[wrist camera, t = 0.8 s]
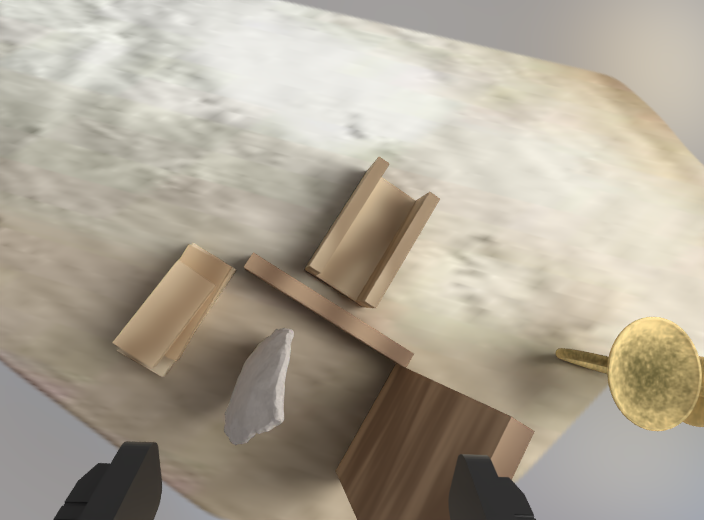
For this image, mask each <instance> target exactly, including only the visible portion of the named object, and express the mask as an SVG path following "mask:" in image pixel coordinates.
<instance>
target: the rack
mask: <svg viewBox="0 0 704 520" xmlns="http://www.w3.org/2000/svg"><path fill="white" fill-rule="evenodd" d="M244 268H245V270H247V271H249V272H250V273H252V274H253V275H255V276H257V277H258V278H260V279H261V280H263V281H265V282H266V283H268V284H269V285H271V286H273V287H274V288H276V289H277V290H279V291H281V292H282V293H284V294H285V295H287V296H289V297H290V298H292V299H293V300H295V301H297V302H298V303H300V304H301V305H303V306H305V307H306V308H308V309H310V310H311V311H313V312H314V313H316V314H318V315H319V316H321V317H322V318H324V319H326V320H327V321H329V322H330V323H332V324H334V325H335V326H337V327H338V328H340V329H342V330H343V331H345V332H346V333H348V334H350V335H351V336H353V337H354V338H356V339H358V340H359V341H361V342H362V343H364V344H366V345H367V346H369V347H370V348H372V349H374V350H375V351H377V352H378V353H380V354H382V355H383V356H385V357H387V358H388V359H390V360H391V361H393V362H395V363H396V364H395V366H394V368H393V370H392V371H391V373H390V375H389V377H388V379H387V380H386V382H385V384H384V386H383V387H382V389H381V391H380V393H379V395H378V396H377V398H376V400H375V402H374V404H373V405H372V407H371V409H370V411H369V412H368V414H367V416H366V418H365V420H364V421H363V423H362V425H361V427H360V428H359V430H358V432H357V434H356V436H355V437H354V439H353V441H352V443H351V445H350V446H349V448H348V450H347V452H346V453H345V455H344V457H343V459H342V461H341V462H340V464H339V466H338V468H337V469H336V473H337V475H338V477H339V480H340V482H341V484H342V486H343V489H344V491H345V493H346V495H347V498H348V500H349V502H350V504H351V507H352V509H353V511H354V513H355V516H356V518H357V520H450V515H449V506H448V498H449V491H450V487H451V483H452V479H453V475H454V471H455V466H456V462H457V458H458V456H459V455H460V454H470V455H487V456H489V457H490V459H491V461H492V463H493V465H494V468H495V470H496V472H497V475H498V477H509V478H510V479H511V480H512V478H513V476H514V474H515V472H516V469H517V467H518V465H519V463H520V461H521V459H522V457H523V455H524V453H525V451H526V448H527V446H528V444H529V442H530V440H531V438H532V436H533V434H534V432H535V431H533V430H532V429H530V428H529V427H527V426H525V425H524V424H522V423H521V422H519V421H517V420H516V419H514V418H513V417H511V416H509V415H507V414H504V413H502V412H500V411H498V410H496V409H494V408H491V407H489V406H487V405H485V404H483V403H481V402H478V401H476V400H474V399H472V398H470V397H468V396H465V395H463V394H461V393H459V392H457V391H455V390H452V389H450V388H448V387H446V386H444V385H442V384H439V383H437V382H435V381H433V380H431V379H429V378H427V377H424V376H422V375H420V374H418V373H416V372H414V371H411V370H409V369H407V368H406V367H407V365H408V364H409V362H410V360H411V358H412V356H413V355H414V354H413V353H412V352H410V351H409V350H407V349H405V348H404V347H402V346H401V345H399V344H398V343H396V342H394V341H393V340H391V339H390V338H388V337H386V336H385V335H383V334H382V333H380V332H379V331H377V330H375V329H374V328H372V327H371V326H369V325H367V324H366V323H364V322H363V321H361V320H360V319H358V318H356V317H355V316H353V315H352V314H350V313H348V312H347V311H345V310H344V309H342V308H341V307H339V306H337V305H336V304H334V303H333V302H331V301H329V300H328V299H326V298H325V297H323V296H321V295H320V294H318V293H317V292H315V291H314V290H312V289H310V288H309V287H307V286H306V285H304V284H302V283H301V282H299V281H298V280H296V279H295V278H293V277H291V276H290V275H288V274H287V273H285V272H283V271H282V270H280V269H279V268H277V267H276V266H274V265H272V264H271V263H269V262H268V261H266V260H264V259H263V258H261V257H260V256H258V255H257V254H255V253H253V254H252V255H251V257H250V258H249V260H248V261H247V263H246V264H245V266H244Z"/></svg>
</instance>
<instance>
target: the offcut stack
mask: <svg viewBox="0 0 704 520" xmlns="http://www.w3.org/2000/svg"><path fill="white" fill-rule="evenodd" d="M235 272H236V269H234V268H233V267H231V266H230V265H228V264H226V263H225V262H223V261H222V260H220V259H218V258H217V257H215V256H214V255H212V254H210V253H209V252H207V251H206V250H204V249H202V248H201V247H199V246H197V245H196V244H194V243H192V244H191V245H189V244H188V246H187V248H186V249H185V251H184V253H183V254H182V256H181V258H180V259H179V260H177V262H176V263H175V264H174V265H173V267H172V268H171V269H170V270H169V272H168V273H167V274H166V275H165V277H164V278H163V279H162V281H161V282H160V283H159V284H158V286H157V287H156V288H155V289H154V291H153V292H152V293H151V294H150V296H149V297H148V298H147V299H146V301H145V302H144V303H143V305H142V306H141V307H140V308H139V310H138V311H137V312H136V313H135V315H134V316H133V317H132V318H131V320H130V321H129V322H128V324H127V325H126V326H125V327H124V329H123V330H122V331H121V332H120V334H119V335H118V336H117V337H116V339H115V340H114V341H113V342H112V343H113V344H115V345H116V346H118V347H119V348H118V349H117V350H116V351H117V352H119V353H121V354H123V355H124V356H126V357H128V358H130V359H131V360H133V361H135V362H137V363H138V364H140V365H142V366H144V367H145V368H147V369H149V370H151V371H152V372H154V373H156V374H158V375H160V376H161V377H164V376H165V375H166V374H167V373H168V371H169V370H170V368H171V367H172V365H173V364H174V362H175V361H177V360H179V359H180V357H181V355H182V354H183V352H184V350H185V348H186V347H187V345H188V343H189V341H190V340H191V338H192V336H193V335H194V333H195V331H196V330H197V328H198V327H199V325H200V324H201V322H202V321H203V319H204V318H205V316H206V315H207V313H208V312H209V310H210V309H211V307H212V306H213V304H214V303H215V301H216V300H217V298H218V297H219V295H220V294H221V292H222V291H223V289H224V288H225V287H226V285H227V284H228V282H229V281H230V279H231V278H232V276H233V275H234V273H235Z"/></svg>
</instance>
